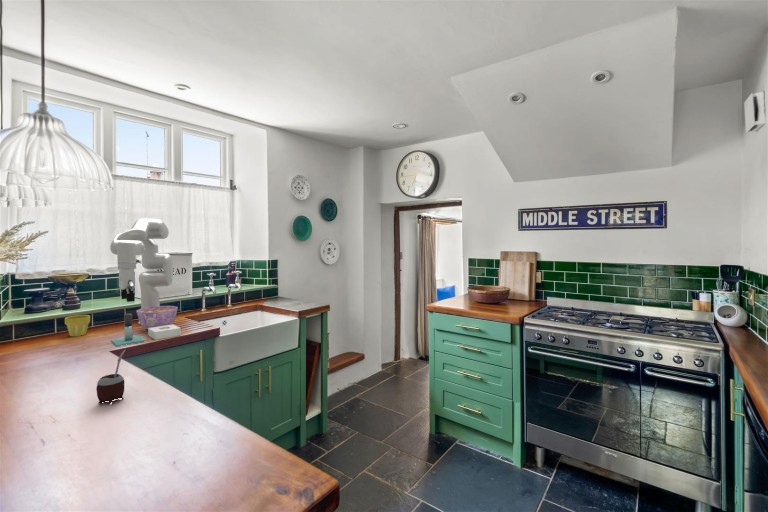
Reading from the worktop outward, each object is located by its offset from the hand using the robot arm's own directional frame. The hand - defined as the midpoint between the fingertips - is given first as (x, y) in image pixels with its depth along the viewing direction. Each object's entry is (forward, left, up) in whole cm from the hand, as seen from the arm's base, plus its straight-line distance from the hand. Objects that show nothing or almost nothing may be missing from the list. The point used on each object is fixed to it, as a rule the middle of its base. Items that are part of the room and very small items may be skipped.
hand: (128, 300), depth 180 cm
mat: (+1, 0, -21) cm, 21 cm away
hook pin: (0, 0, -20) cm, 20 cm away
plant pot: (-33, -15, -21) cm, 42 cm away
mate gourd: (+76, -21, -21) cm, 81 cm away
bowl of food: (-17, +18, -21) cm, 33 cm away
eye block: (+1, +16, -21) cm, 26 cm away
